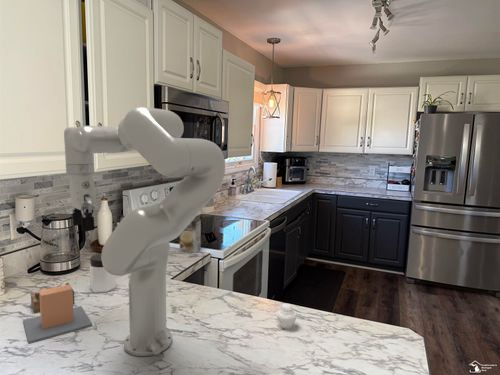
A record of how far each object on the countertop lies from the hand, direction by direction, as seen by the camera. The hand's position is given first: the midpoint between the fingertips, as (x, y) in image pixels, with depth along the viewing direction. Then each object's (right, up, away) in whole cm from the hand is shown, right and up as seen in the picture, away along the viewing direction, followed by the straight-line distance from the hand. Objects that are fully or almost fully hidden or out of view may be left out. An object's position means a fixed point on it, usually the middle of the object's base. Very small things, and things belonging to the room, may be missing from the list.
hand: (83, 227), depth 105 cm
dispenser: (-16, -27, +12) cm, 33 cm away
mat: (-7, -29, 0) cm, 29 cm away
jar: (-5, -26, +25) cm, 36 cm away
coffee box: (+19, -20, +72) cm, 78 cm away
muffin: (+61, -30, +1) cm, 67 cm away
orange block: (-7, -28, -1) cm, 29 cm away
